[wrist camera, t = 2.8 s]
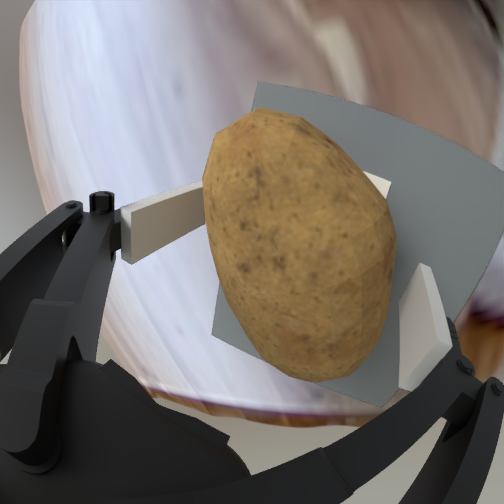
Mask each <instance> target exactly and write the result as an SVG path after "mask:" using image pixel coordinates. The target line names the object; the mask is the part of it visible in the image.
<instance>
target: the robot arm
mask: <svg viewBox="0 0 504 504" xmlns="http://www.w3.org/2000/svg"><path fill="white" fill-rule="evenodd" d="M89 201H90V212H89V213H88V212H83V203H82V202H79V201H74V200H72V201H68V202H66V203H64V204H62V205H60V206H59V207H58V208H56V209H55V210H54V211H52V212H51V213H49V214H48V215H47V216H45V217H44V218H43V219H42V220H40V221H39V222H38V223H36V224H35V225H34V226H33V227H32V228H30V229H29V230H28V231H27V232H25V233H24V234H23V235H22V236H21V237H19V238H18V239H17V240H16V241H15V242H13V243H12V244H11V245H10V246H9V247H8V248H7V249H5V251H3V252H2V253H1V254H0V361H1V360H2V359H3V358H4V357H5V356H6V355H7V354H8V352H9V351H10V350H11V349H12V351H11V353H10V356H9V360H8V363H7V364H0V504H340V503H341V502H343V501H345V500H346V499H347V498H349V497H350V496H351V495H352V494H353V492H354V491H355V490H357V489H358V488H359V487H361V486H362V485H364V484H365V483H367V482H368V481H369V480H371V479H372V478H373V477H375V476H376V475H377V474H379V473H380V472H381V471H383V470H384V469H385V468H386V467H388V466H389V465H390V464H391V463H393V462H394V461H395V460H396V459H397V458H399V457H400V456H401V455H402V454H403V453H404V452H405V451H407V450H408V449H409V448H410V447H411V446H412V445H413V444H414V443H415V442H416V441H417V440H418V439H419V438H420V437H421V436H423V434H425V433H426V432H427V431H428V429H430V427H432V425H433V424H434V423H435V422H436V421H437V420H438V419H439V418H440V417H441V416H442V417H443V418H445V419H446V420H447V422H446V424H445V426H444V428H443V430H442V432H441V434H440V436H439V439H438V440H437V442H436V444H435V447H434V448H433V450H432V452H431V454H430V455H429V457H428V459H427V461H426V463H425V464H424V466H423V468H422V469H421V471H420V472H419V474H418V476H417V477H416V479H415V480H414V482H413V483H412V485H411V486H410V488H409V489H408V491H407V492H406V494H405V495H404V497H403V498H402V499H401V501H400V502H399V504H476V503H477V501H478V498H479V496H480V494H481V491H482V489H483V486H484V483H485V481H486V478H487V475H488V472H489V469H490V466H491V463H492V460H493V456H494V453H495V449H496V446H497V442H498V438H499V434H500V429H501V424H502V419H503V413H504V385H503V383H502V382H500V381H499V380H498V379H497V378H495V377H490V378H488V380H487V381H486V382H485V383H482V382H481V381H479V380H478V379H476V378H475V377H474V374H475V370H474V367H473V365H472V363H471V362H470V361H469V359H467V358H466V357H465V356H463V355H462V353H461V349H460V345H459V341H458V337H457V334H456V329H455V325H454V324H453V322H452V321H451V319H450V318H449V317H447V316H445V312H444V309H443V305H442V302H441V298H440V295H439V291H438V288H437V285H436V282H435V279H434V276H433V273H432V270H431V267H429V266H426V265H424V264H422V263H419V265H418V267H417V269H416V271H415V273H414V275H413V276H412V278H411V280H410V282H409V284H408V286H407V288H406V290H405V292H404V293H403V295H402V297H401V299H400V300H399V322H400V364H399V386H398V387H399V388H402V389H405V390H408V391H411V392H410V393H409V394H408V395H407V396H405V397H404V398H403V399H401V400H400V401H399V402H397V403H396V404H395V405H393V406H392V407H390V408H389V409H388V410H386V411H385V412H383V413H382V414H380V415H379V416H377V417H376V418H374V419H373V420H371V421H370V422H368V423H367V424H365V425H363V426H362V427H360V428H359V429H357V430H355V431H354V432H352V433H350V434H349V435H347V436H345V437H343V438H342V439H340V440H338V441H336V442H334V443H333V444H331V445H329V446H327V447H324V448H322V447H320V448H317V449H315V450H313V451H310V452H308V453H306V454H304V455H302V456H299V457H297V458H295V459H293V460H290V461H288V462H286V463H283V464H281V465H278V466H277V467H273V468H271V469H268V470H266V471H263V472H260V473H258V474H255V475H252V476H251V474H250V472H249V470H248V468H247V466H246V465H245V463H244V462H243V460H242V459H241V458H240V456H239V455H238V454H237V453H236V452H235V451H234V450H233V449H232V448H231V447H229V446H228V445H227V443H228V440H229V438H230V436H229V435H227V434H225V433H223V432H221V431H219V430H217V429H215V428H213V427H211V426H210V425H208V424H206V423H204V422H202V421H201V420H199V419H197V418H195V417H191V416H188V415H186V414H183V413H180V412H177V411H174V410H171V409H168V408H166V407H163V406H161V405H159V404H157V403H156V402H155V401H154V400H153V399H152V397H151V396H150V395H149V394H148V393H147V392H146V390H145V389H144V388H143V387H142V386H141V384H140V383H139V382H138V381H137V380H136V378H135V377H133V376H132V375H131V374H129V373H128V372H127V371H125V370H124V369H123V368H122V367H120V366H119V365H118V364H117V363H115V362H114V361H113V360H112V359H110V360H109V361H108V362H107V363H106V364H104V365H103V364H100V363H97V362H96V352H97V346H98V345H97V344H98V339H99V333H100V327H101V322H102V316H103V311H104V306H105V302H106V297H107V292H108V288H109V284H110V279H111V275H112V271H113V267H114V263H115V260H116V251H117V250H119V249H121V257H122V259H123V260H124V261H126V262H128V263H130V264H131V265H132V264H134V263H136V262H137V261H139V260H141V259H142V258H144V257H146V256H148V255H149V254H151V253H153V252H155V251H157V250H158V249H160V248H162V247H164V246H165V245H167V244H169V243H171V242H173V241H174V240H176V239H178V238H180V237H182V236H184V235H185V234H187V233H189V232H191V231H193V230H195V229H196V228H198V227H200V226H202V225H204V224H205V221H206V220H205V211H204V198H203V183H202V181H199V182H196V183H193V184H189V185H186V186H183V187H179V188H176V189H173V190H170V191H167V192H164V193H161V194H158V195H155V196H152V197H149V198H146V199H143V200H140V201H137V202H134V203H131V204H129V205H126V206H123V207H120V209H117V210H115V211H114V193H112V192H108V191H99V192H95V193H92V194H91V195H89ZM62 235H63V239H64V242H63V243H62ZM12 347H13V348H12Z"/></svg>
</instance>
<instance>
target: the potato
mask: <svg viewBox="0 0 504 504" xmlns="http://www.w3.org/2000/svg"><path fill="white" fill-rule="evenodd" d="M202 183H203V198H204V211H205V220H206V226H207V232H208V237H209V243H210V248H211V252H212V256H213V260H214V263H215V267H216V271H217V274H218V278H219V281H220V284H221V287H222V289H223V292H224V295H225V298H226V300H227V303H228V305H229V306H230V308H231V309H232V311H233V312H234V314H235V316H236V318H237V320H238V321H239V323H240V325H241V327H242V328H243V330H244V332H245V334H246V335H247V337H248V338H249V340H250V341H251V343H252V344H253V346H254V347H255V349H256V350H257V352H258V353H259V355H260V356H261V357H262V359H263V360H265V361H266V362H268V363H269V364H271V365H272V366H274V367H275V368H277V369H278V370H280V371H282V372H283V373H285V374H286V375H288V376H290V377H293V378H297V379H301V380H305V381H309V382H314V383H317V382H323V381H329V380H334V379H339V378H343V377H347V376H350V375H352V374H353V373H354V371H355V370H356V369H357V368H358V367H359V366H360V365H361V364H362V363H363V361H364V360H365V359H366V358H367V357H368V356H369V355H370V353H371V352H372V350H373V349H374V347H375V346H376V344H377V343H378V341H379V340H380V336H381V333H382V330H383V327H384V324H385V320H386V317H387V313H388V309H389V303H390V296H391V289H392V281H393V273H394V263H395V252H396V240H397V234H396V231H395V227H394V223H393V220H392V216H391V213H390V209H389V206H388V202H387V200H386V199H385V198H384V196H383V195H382V194H381V193H380V191H379V190H378V189H377V188H376V186H375V185H374V184H373V183H372V182H371V180H370V179H369V178H368V177H367V176H366V174H365V173H364V172H363V171H362V170H361V169H360V167H359V166H358V165H357V164H356V163H355V162H354V161H353V160H352V159H351V157H350V156H349V155H348V154H347V153H346V152H345V151H344V150H343V149H342V148H341V147H340V146H339V145H338V144H337V143H336V142H335V141H334V140H333V139H332V138H330V137H329V136H328V135H326V134H325V133H323V132H322V131H321V130H319V129H318V128H317V127H315V126H314V125H312V124H311V123H309V122H308V121H306V120H305V119H304V118H302V117H299V116H295V115H292V114H288V113H284V112H280V111H276V110H272V109H267V108H263V107H259V108H257V109H255V110H254V111H252V112H250V113H249V114H247V115H245V116H244V117H242V118H240V119H239V120H237V121H236V122H234V123H232V124H231V125H229V126H228V127H226V128H224V129H223V130H221V131H220V132H218V133H216V134H215V137H214V140H213V143H212V147H211V150H210V153H209V157H208V160H207V164H206V167H205V171H204V174H203V178H202Z"/></svg>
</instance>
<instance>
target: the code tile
mask: <svg viewBox="0 0 504 504" xmlns="http://www.w3.org/2000/svg"><path fill="white" fill-rule="evenodd" d="M259 107H263V108H267V109H272V110H276V111H280V112H284V113H288V114H292V115H295V116H299V117H302V118H304V119H305V120H306V121H308V122H309V123H311V124H312V125H314V126H315V127H317V128H318V129H319V130H321V131H322V132H323V133H325V134H326V135H328V136H329V137H330V138H332V139H333V140H334V141H335V142H336V143H337V144H338V145H339V146H340V147H341V148H342V149H343V150H344V151H345V152H346V153H347V154H348V155H349V156H350V157H351V159H352V160H353V161H354V162H355V163H356V164H357V165H358V166H359V167H360V169H361V170H362V171H363V172H364V173H365V174H366V176H367V177H368V178H369V179H370V180H371V182H372V183H373V184H374V185H375V186H376V188H377V189H378V190H379V191H380V193H381V194H382V195H383V196H384V198H385V199H386V200H387V202H388V206H389V209H390V213H391V216H392V220H393V223H394V227H395V231H396V234H397V240H396V252H395V263H394V273H393V281H392V289H391V296H390V303H389V309H388V313H387V317H386V320H385V324H384V327H383V330H382V333H381V336H380V340H379V341H378V343H377V344H376V346H375V347H374V349H373V350H372V352H371V353H370V355H369V356H368V357H367V358H366V359H365V360H364V361H363V363H362V364H361V365H360V366H359V367H358V368H357V369H356V370H355V371H354V373H353V374H352V375H350V376H347V377H343V378H339V379H334V380H329V381H323V382H317V383H315V384H318V385H320V386H323V387H325V388H328V389H330V390H333V391H336V392H338V393H341V394H344V395H346V396H349V397H352V398H355V399H357V400H360V401H363V402H366V403H369V404H372V405H375V406H378V407H382V406H383V405H384V404H385V403H386V402H387V401H388V400H389V399H390V398H391V397H392V396H393V395H394V394H395V393H396V392H397V391H398V390H399V389H400V388H399V387H398V386H399V364H400V322H399V300H400V299H401V297H402V295H403V293H404V292H405V290H406V288H407V286H408V284H409V282H410V280H411V278H412V276H413V275H414V273H415V271H416V269H417V267H418V265H419V263H422V264H424V265H426V266H429V267H431V270H432V273H433V276H434V279H435V282H436V285H437V288H438V291H439V295H440V298H441V302H442V305H443V309H444V312H445V316H447V317H449V318H450V319H451V321H452V322H454V320H455V319H456V317H457V316H458V314H459V313H460V311H461V309H462V308H463V306H464V305H465V303H466V302H467V300H468V298H469V297H470V295H471V293H472V292H473V290H474V288H475V287H476V285H477V283H478V281H479V279H480V278H481V276H482V274H483V272H484V270H485V268H486V266H487V265H488V263H489V261H490V259H491V257H492V255H493V252H494V250H495V248H496V246H497V244H498V242H499V240H500V237H501V235H502V233H503V230H504V172H503V171H502V170H500V169H499V168H497V167H496V166H494V165H493V164H491V163H489V162H488V161H486V160H484V159H483V158H481V157H479V156H477V155H476V154H474V153H472V152H470V151H469V150H467V149H465V148H463V147H461V146H459V145H457V144H456V143H454V142H452V141H450V140H448V139H446V138H444V137H441V136H439V135H437V134H435V133H433V132H431V131H429V130H426V129H424V128H422V127H420V126H417V125H415V124H412V123H410V122H408V121H405V120H403V119H400V118H397V117H395V116H392V115H389V114H387V113H384V112H381V111H378V110H375V109H372V108H369V107H366V106H363V105H360V104H357V103H354V102H350V101H347V100H343V99H340V98H336V97H332V96H329V95H325V94H321V93H316V92H312V91H308V90H303V89H298V88H293V87H288V86H283V85H277V84H271V83H265V82H259V81H258V82H257V87H256V92H255V96H254V101H253V106H252V110H251V112H252V111H254V110H255V109H257V108H259ZM211 335H213V336H215V337H216V338H218V339H220V340H222V341H224V342H226V343H228V344H230V345H232V346H234V347H236V348H238V349H240V350H242V351H244V352H246V353H248V354H250V355H252V356H254V357H256V358H259V359H261V360H263V359H262V357H261V356H260V355H259V353H258V352H257V350H256V349H255V347H254V346H253V344H252V343H251V341H250V340H249V338H248V337H247V335H246V334H245V332H244V330H243V328H242V327H241V325H240V323H239V321H238V320H237V318H236V316H235V314H234V312H233V311H232V309H231V308H230V306H229V305H228V303H227V300H226V298H225V295H224V292H223V289H222V287H221V284H220V283H219V289H218V295H217V302H216V308H215V314H214V321H213V328H212V334H211ZM263 361H265V360H263ZM265 362H266V361H265ZM267 363H268V362H267ZM313 383H314V382H313Z"/></svg>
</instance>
